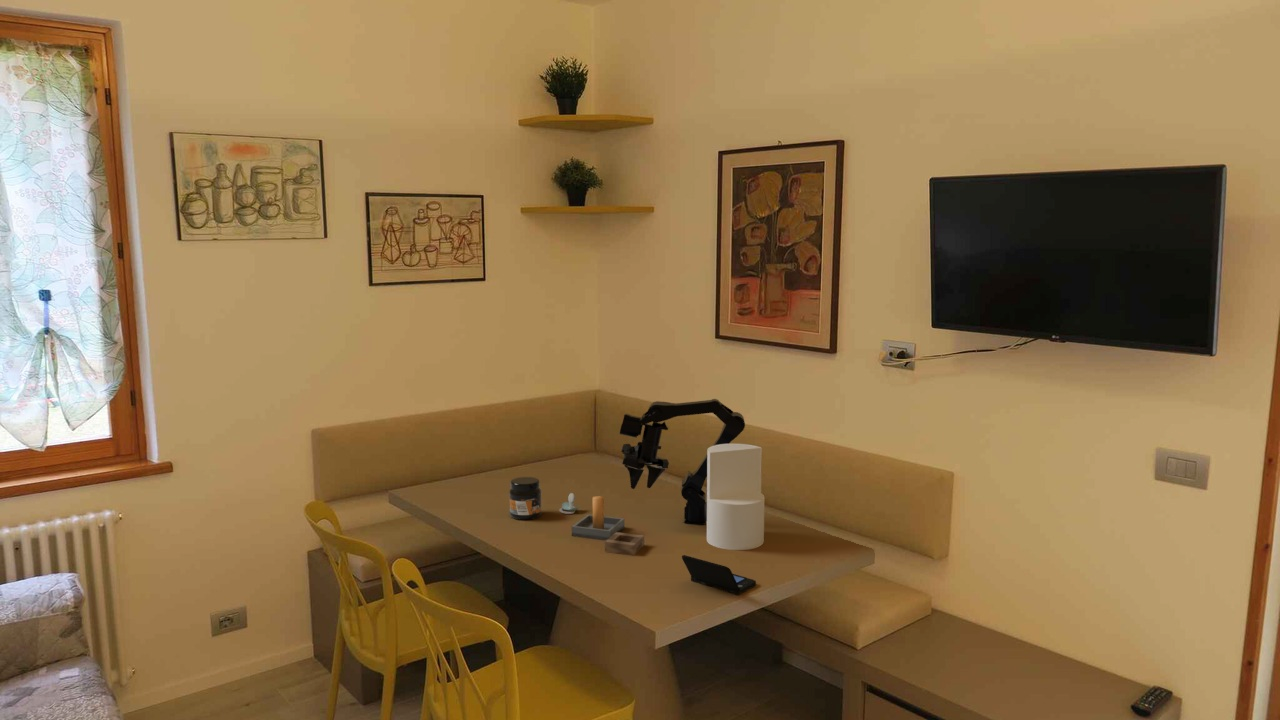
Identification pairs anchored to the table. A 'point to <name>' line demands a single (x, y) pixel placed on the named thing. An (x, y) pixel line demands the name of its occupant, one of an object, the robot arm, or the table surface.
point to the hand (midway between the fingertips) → (640, 488)
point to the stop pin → (598, 512)
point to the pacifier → (569, 505)
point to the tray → (587, 531)
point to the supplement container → (525, 498)
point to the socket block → (624, 543)
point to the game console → (716, 576)
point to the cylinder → (734, 497)
